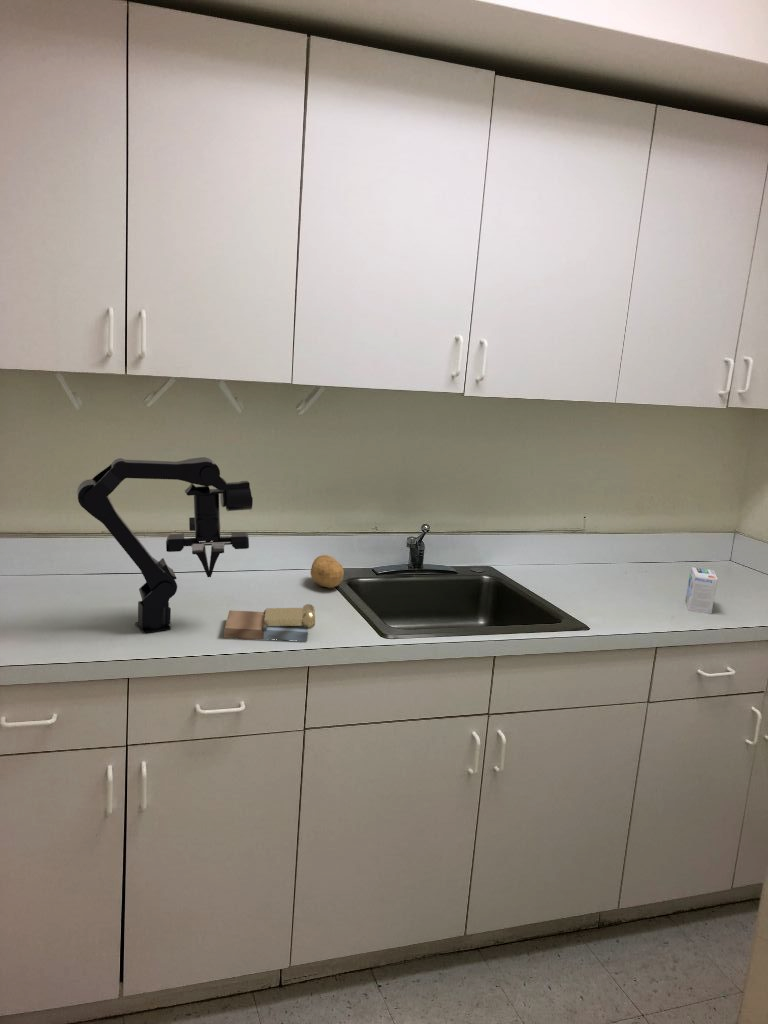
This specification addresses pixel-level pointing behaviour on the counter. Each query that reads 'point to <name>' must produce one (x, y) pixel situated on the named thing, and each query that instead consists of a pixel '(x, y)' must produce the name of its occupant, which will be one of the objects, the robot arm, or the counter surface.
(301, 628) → the wood and metal base
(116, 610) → the counter surface
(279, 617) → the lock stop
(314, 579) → the potato
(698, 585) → the light bulb box
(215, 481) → the robot arm
